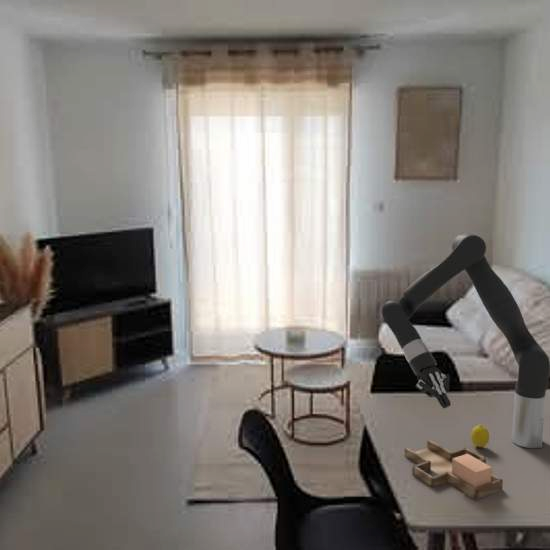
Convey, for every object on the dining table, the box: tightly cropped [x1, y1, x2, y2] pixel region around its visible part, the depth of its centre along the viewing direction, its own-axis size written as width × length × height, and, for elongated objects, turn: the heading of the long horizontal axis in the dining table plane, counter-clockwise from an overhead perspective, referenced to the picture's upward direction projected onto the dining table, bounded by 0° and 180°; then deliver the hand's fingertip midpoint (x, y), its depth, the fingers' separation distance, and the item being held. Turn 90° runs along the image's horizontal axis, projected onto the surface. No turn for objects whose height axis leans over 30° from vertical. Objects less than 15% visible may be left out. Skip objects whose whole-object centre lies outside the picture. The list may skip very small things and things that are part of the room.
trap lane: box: [404, 439, 504, 501], centre depth 180 cm, size 29×22×3 cm
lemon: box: [470, 424, 490, 448], centre depth 194 cm, size 6×6×8 cm
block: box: [452, 454, 492, 488], centre depth 171 cm, size 9×6×7 cm, turn 28°
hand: (447, 406), depth 178 cm, fingers closed
